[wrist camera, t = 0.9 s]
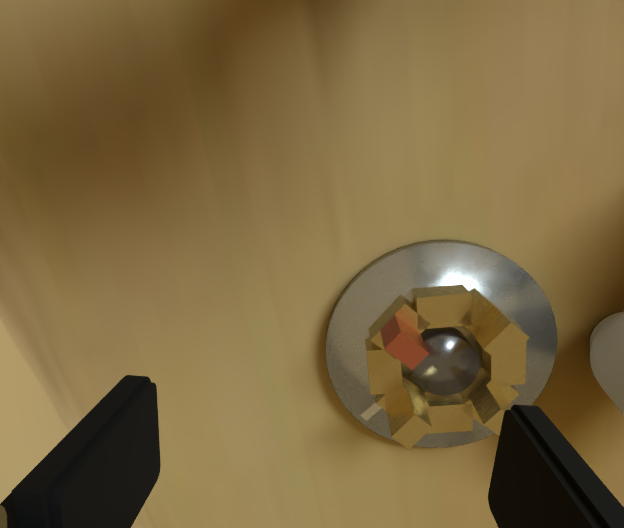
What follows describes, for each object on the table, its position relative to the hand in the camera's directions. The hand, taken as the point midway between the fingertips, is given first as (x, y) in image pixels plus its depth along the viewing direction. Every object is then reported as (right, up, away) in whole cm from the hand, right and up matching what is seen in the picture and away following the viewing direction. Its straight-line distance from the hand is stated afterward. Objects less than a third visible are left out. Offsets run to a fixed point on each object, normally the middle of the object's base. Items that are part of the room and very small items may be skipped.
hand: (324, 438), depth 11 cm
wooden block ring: (+12, -4, +28) cm, 31 cm away
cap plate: (+12, -4, +30) cm, 32 cm away
